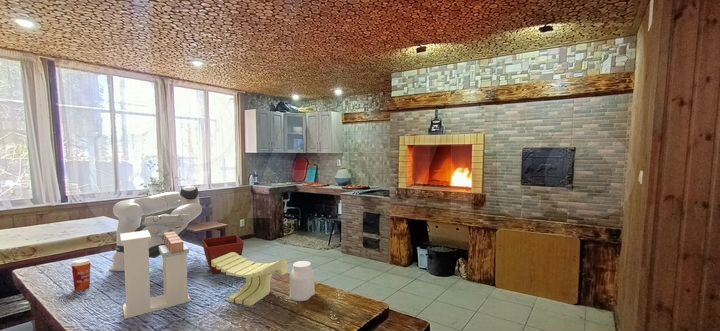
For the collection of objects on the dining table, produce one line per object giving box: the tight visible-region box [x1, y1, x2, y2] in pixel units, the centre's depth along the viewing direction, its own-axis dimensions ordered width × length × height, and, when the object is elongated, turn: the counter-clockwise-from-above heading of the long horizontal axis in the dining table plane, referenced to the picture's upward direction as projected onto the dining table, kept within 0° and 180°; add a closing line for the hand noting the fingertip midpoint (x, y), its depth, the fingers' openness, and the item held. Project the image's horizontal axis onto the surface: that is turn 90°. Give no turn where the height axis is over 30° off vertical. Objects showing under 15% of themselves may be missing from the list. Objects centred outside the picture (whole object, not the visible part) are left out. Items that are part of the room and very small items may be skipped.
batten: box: [163, 231, 184, 254], centre depth 145 cm, size 24×4×4 cm, turn 39°
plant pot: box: [201, 234, 245, 276], centre depth 182 cm, size 19×19×17 cm
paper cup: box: [70, 258, 92, 292], centre depth 157 cm, size 8×8×14 cm
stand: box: [120, 230, 191, 320], centre depth 140 cm, size 14×24×32 cm, turn 129°
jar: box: [288, 260, 316, 302], centre depth 148 cm, size 12×10×15 cm
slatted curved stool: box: [211, 252, 288, 307], centre depth 147 cm, size 30×16×18 cm, turn 70°
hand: (170, 216), depth 159 cm, fingers open, 8 cm apart
